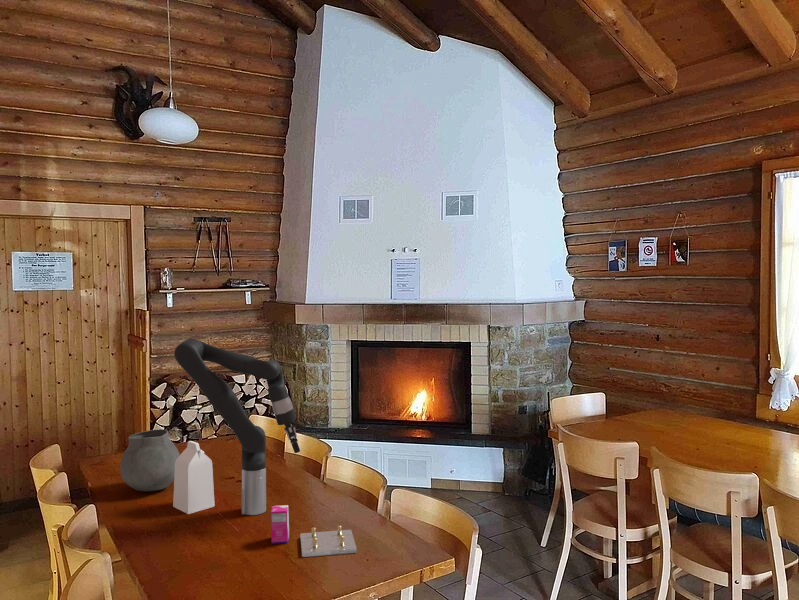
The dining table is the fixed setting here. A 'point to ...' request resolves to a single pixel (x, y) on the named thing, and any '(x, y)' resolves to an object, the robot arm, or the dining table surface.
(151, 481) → the ceramic pot
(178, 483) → the milk
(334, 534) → the chassis plate
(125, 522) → the dining table surface
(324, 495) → the dining table surface
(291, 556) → the dining table surface
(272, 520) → the supplement box
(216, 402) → the robot arm
